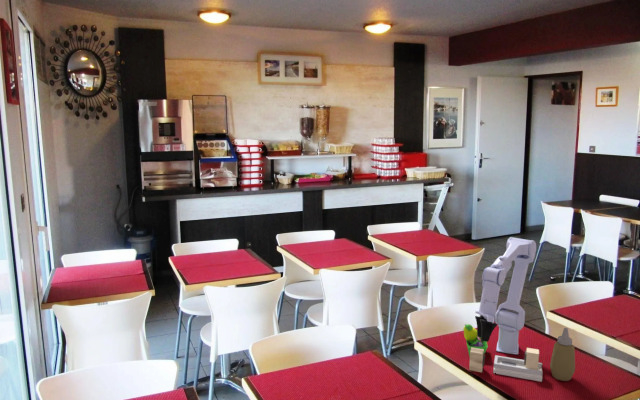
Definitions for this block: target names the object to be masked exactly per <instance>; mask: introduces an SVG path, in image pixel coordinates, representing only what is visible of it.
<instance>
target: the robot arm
mask: <svg viewBox="0 0 640 400" xmlns="http://www.w3.org/2000/svg"><path fill="white" fill-rule="evenodd" d="M505 246H506V247H505V248H506V250H505V252H504V253H503V255H500V256H498V257H497V258H496V259H495V260H494V262H493V263H492V264H491V265H490V266H487V267H485V268H484V269H483V272H482V275H481V279H482V280H481V281H482V283H481V286H482V291H481V292H482V293H481V298H480V303H479V308H478V309H479V310H475V311H474V313H475V314H478V315H479V316H477V315H475V320H476V321H475V322H476V330H477V336H478V337H481V340H482V341H486V342H487V343H489V340H490V338H491V337H492V333H493V331H494V329H495V328H496V327H497V328H498V341H497V343H496V350H495V351H496V352H499V353H505V354H511V355H516V356H517V355H519V348H520V347H519V345H520V344H519V334H520V331H521V330H522V329H523V328H524V326H525V322H526V311H525V309H524V308H523V307H522V305H520V302H521V299H522V294H523V290H524V284H525V282H526V281H525V280H526V276H527V272H528V269H529V268H528V267H529V265H530V264H531V263H534V260H535V258H536V252H537V243H536V241H535V240H533V239H531V240H530V239H523V238H520V237H519V238H517V237H513V236H510V237H509V238H507V241H506V245H505ZM513 261H514V266H513V272H512V274H511V275H512V276H511V280H510V284H509V289H508V293H507V297H506V300H505V302H502V303H501V304H499V305H498V302H499V297H500V290H501V286H502V285H503V284H504V282H505V279H506V277H507V274H508V272H509V270H511V268H512V265H513V264H512V262H513ZM494 321H495V322H494Z"/></svg>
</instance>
